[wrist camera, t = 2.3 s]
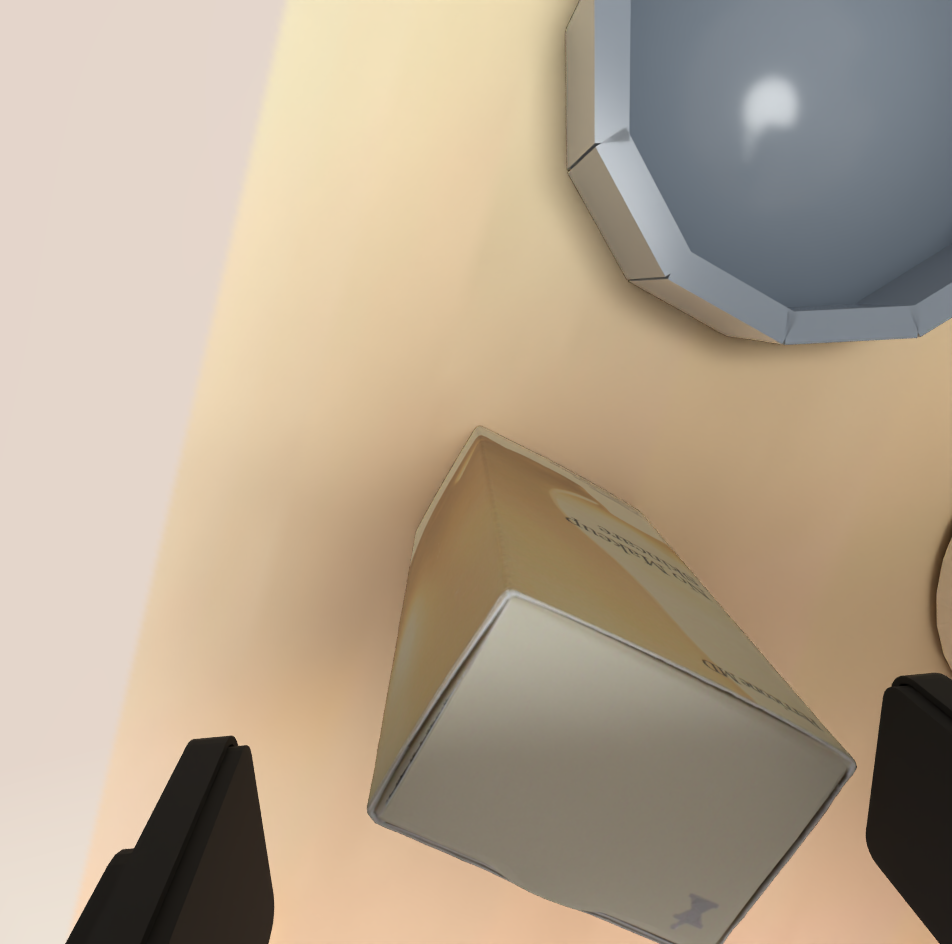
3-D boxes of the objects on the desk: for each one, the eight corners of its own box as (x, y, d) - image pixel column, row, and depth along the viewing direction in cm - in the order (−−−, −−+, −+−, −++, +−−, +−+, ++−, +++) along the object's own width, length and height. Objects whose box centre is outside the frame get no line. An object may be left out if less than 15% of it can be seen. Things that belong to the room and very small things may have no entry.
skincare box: (644, 509, 22) (892, 770, 10) (574, 619, 22) (725, 980, 11) (468, 415, 21) (507, 581, 9) (402, 534, 21) (356, 832, 10)
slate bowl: (1069, -199, 17) (1221, -319, 14) (992, 322, 21) (1100, 328, 17) (562, -188, 17) (594, -310, 13) (568, 344, 20) (594, 354, 17)
